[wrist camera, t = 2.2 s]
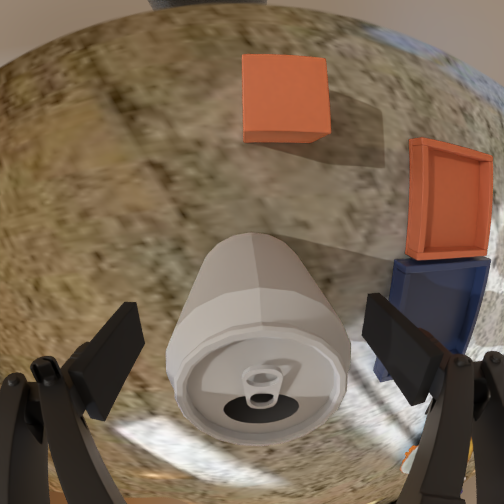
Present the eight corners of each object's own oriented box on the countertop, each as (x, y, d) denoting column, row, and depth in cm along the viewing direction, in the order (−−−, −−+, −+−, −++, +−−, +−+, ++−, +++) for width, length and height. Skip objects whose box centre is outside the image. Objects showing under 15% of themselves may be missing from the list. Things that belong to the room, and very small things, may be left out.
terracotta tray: (408, 139, 18) (422, 136, 16) (479, 155, 18) (492, 155, 16) (404, 253, 20) (417, 260, 18) (474, 250, 20) (486, 255, 18)
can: (204, 326, 21) (176, 455, 9) (196, 231, 19) (132, 311, 7) (300, 323, 21) (345, 446, 10) (304, 228, 19) (386, 302, 8)
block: (242, 80, 16) (241, 53, 12) (308, 82, 16) (326, 58, 12) (243, 142, 18) (243, 131, 13) (311, 143, 18) (331, 133, 13)
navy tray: (394, 259, 20) (406, 266, 18) (479, 254, 20) (491, 259, 18) (372, 370, 23) (380, 382, 21) (454, 349, 23) (463, 358, 21)
